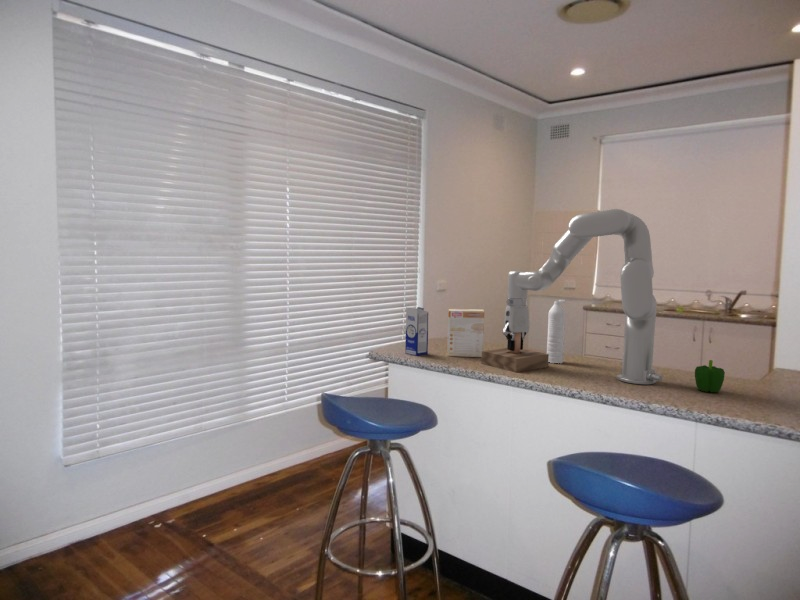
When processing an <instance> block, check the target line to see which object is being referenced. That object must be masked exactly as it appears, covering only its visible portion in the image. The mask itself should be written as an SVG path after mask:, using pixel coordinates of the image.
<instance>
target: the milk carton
mask: <svg viewBox="0 0 800 600" xmlns="http://www.w3.org/2000/svg"><path fill="white" fill-rule="evenodd" d="M405 310H406V311H405V349H404V350H405V352H404V354H406V355H411V356H414V357H415V356H416V357H417V356H424V355H428V352H429V350H428V348H429V346H428V345H429V315H430V314H429V311H427V310H425V308H424V307H420V306H417V308H415V307H414V308H413V307H406V309H405Z"/></svg>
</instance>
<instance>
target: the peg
mask: <svg viewBox="0 0 800 600" xmlns="http://www.w3.org/2000/svg"><path fill="white" fill-rule="evenodd" d="M510 332H511V331H510ZM510 335H511V333H510ZM514 341H515V350H514V351H511V350H510V353H511V354H520V345H521V332H520V333H515V335H514Z"/></svg>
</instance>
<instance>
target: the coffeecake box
mask: <svg viewBox="0 0 800 600" xmlns="http://www.w3.org/2000/svg"><path fill="white" fill-rule="evenodd" d="M447 312H448V313H447V314H448V319H447V322H448V323H447V357H463V358H465V357H467V358H469V357H470V358H482V351H484V342H485V341H484V340H485V339H484V337H485V335H484V334H485V332H484V331H485V310H484V309H474V308H473V309H471V308H470V309H469V308H464V309H462V308H449V309H448V311H447Z"/></svg>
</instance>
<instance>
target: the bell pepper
mask: <svg viewBox="0 0 800 600" xmlns="http://www.w3.org/2000/svg"><path fill="white" fill-rule="evenodd" d="M713 364H714V363H713V360H712V359H710V360H709V362H708V365H706V364H705V365H701V366H700V365H699V366H696V367H695V369H694V379H695V380H694V381H695V384H696V388H697V389H698V390H699V391H700V390H701V392H704V391H705V393H712V392H717V393H719V392H720V391H721V389H722V387H723V383H724V381H725V375H726V374H725V373H726V372H725V370H724V368H721V367H717V366H715V365H713ZM708 391H710V392H708Z"/></svg>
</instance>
